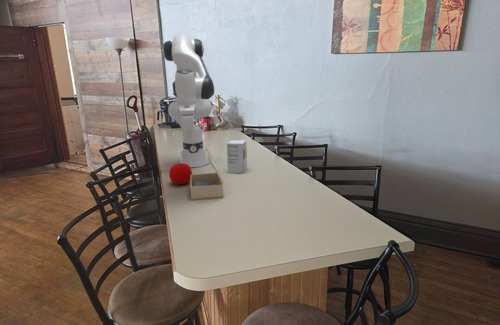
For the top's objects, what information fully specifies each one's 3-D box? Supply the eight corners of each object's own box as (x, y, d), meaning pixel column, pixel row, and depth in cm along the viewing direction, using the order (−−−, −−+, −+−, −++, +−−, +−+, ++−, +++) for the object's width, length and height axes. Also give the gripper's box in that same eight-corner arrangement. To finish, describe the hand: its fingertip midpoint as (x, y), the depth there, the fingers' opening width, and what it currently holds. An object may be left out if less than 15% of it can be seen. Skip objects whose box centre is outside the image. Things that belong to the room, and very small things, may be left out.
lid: (205, 147, 155) (206, 146, 155) (218, 171, 159) (220, 171, 159) (207, 156, 138) (208, 156, 138) (222, 183, 142) (223, 183, 142)
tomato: (170, 188, 157) (168, 167, 154) (169, 180, 168) (167, 161, 165) (193, 185, 159) (192, 165, 156) (191, 178, 171) (189, 159, 168)
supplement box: (243, 173, 177) (242, 143, 172) (227, 172, 178) (226, 143, 174) (247, 168, 186) (246, 140, 181) (231, 167, 187) (230, 139, 183)
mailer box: (191, 186, 159) (190, 174, 157) (219, 183, 161) (218, 172, 159) (191, 199, 142) (190, 187, 140) (222, 197, 144) (222, 184, 142)
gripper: (180, 106, 149) (183, 135, 153) (179, 111, 130) (181, 144, 133) (194, 105, 150) (196, 134, 154) (194, 110, 131) (197, 143, 134)
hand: (189, 139), depth 143 cm, fingers closed
